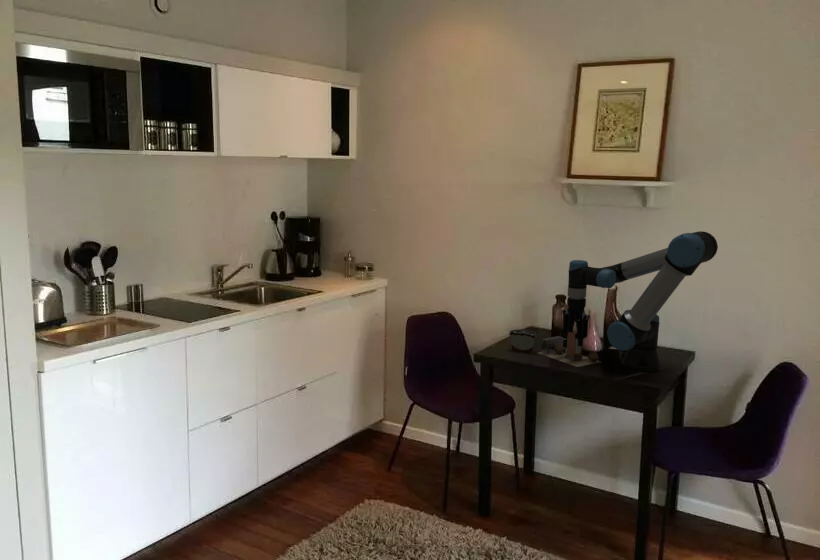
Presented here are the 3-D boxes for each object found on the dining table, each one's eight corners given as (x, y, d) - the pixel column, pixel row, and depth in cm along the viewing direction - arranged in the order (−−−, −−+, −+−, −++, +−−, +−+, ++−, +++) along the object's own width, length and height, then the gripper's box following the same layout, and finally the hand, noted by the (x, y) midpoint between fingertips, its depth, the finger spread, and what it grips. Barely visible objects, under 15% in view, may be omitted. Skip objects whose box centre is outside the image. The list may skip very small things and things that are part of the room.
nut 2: (600, 361, 288) (600, 352, 287) (593, 363, 286) (593, 353, 285) (592, 359, 291) (593, 349, 291) (585, 360, 289) (586, 351, 288)
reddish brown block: (582, 359, 291) (583, 332, 289) (573, 361, 288) (574, 334, 286) (573, 356, 295) (574, 330, 293) (564, 358, 292) (566, 331, 290)
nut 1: (565, 354, 298) (566, 344, 298) (558, 355, 296) (559, 346, 295) (558, 351, 302) (559, 342, 301) (551, 353, 300) (552, 343, 299)
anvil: (569, 352, 301) (569, 339, 299) (552, 356, 295) (552, 342, 294) (557, 349, 306) (558, 335, 305) (541, 352, 301) (541, 338, 300)
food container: (539, 353, 303) (540, 331, 301) (535, 356, 298) (536, 334, 296) (512, 349, 308) (513, 327, 307) (508, 353, 303) (509, 330, 301)
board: (601, 364, 288) (601, 361, 288) (577, 369, 281) (577, 367, 280) (560, 350, 308) (560, 348, 308) (536, 354, 300) (536, 352, 300)
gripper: (598, 300, 282) (595, 355, 286) (568, 293, 296) (565, 345, 300) (585, 302, 278) (582, 358, 282) (555, 294, 292) (553, 348, 296)
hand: (573, 351), depth 291 cm, fingers closed on reddish brown block, 4 cm apart
